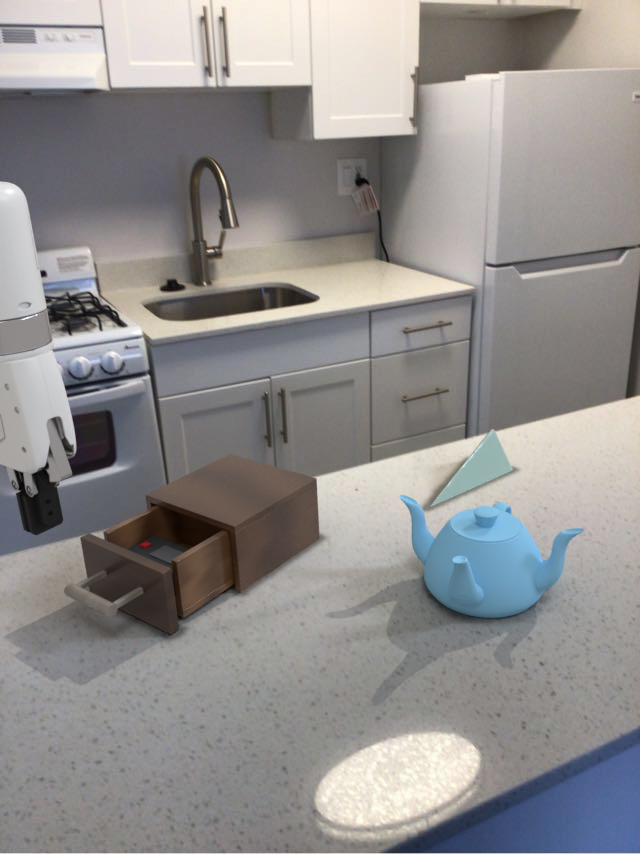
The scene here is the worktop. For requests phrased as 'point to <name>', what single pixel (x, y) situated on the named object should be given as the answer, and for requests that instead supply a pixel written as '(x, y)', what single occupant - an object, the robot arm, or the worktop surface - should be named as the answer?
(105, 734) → the worktop surface
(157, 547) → the remote
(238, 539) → the cabinet
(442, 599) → the teapot
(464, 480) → the pale green wedge
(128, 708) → the worktop surface
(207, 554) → the drawer
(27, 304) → the robot arm
